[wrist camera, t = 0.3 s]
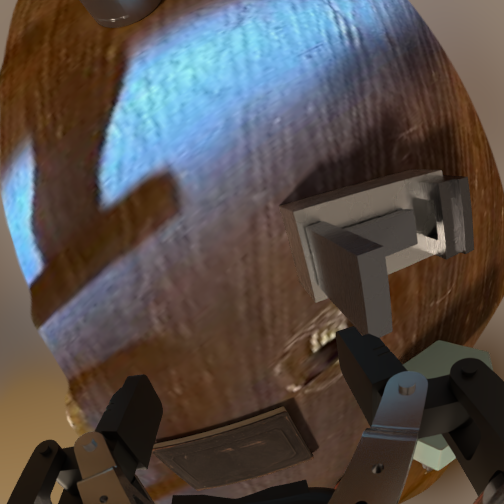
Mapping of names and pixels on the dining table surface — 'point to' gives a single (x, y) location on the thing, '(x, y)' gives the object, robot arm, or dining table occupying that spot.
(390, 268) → the white rectangular holder
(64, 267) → the dining table surface
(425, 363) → the mint hexagonal prism
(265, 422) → the hardcover book
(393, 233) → the dark grey tapered block
